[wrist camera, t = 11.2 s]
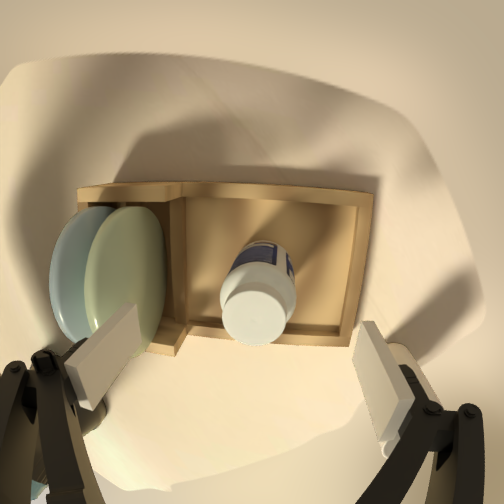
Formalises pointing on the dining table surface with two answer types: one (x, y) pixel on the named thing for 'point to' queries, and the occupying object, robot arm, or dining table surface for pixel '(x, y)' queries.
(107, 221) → the plate sage
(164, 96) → the dining table surface
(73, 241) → the plate blue
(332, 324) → the dish rack
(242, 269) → the pill bottle
